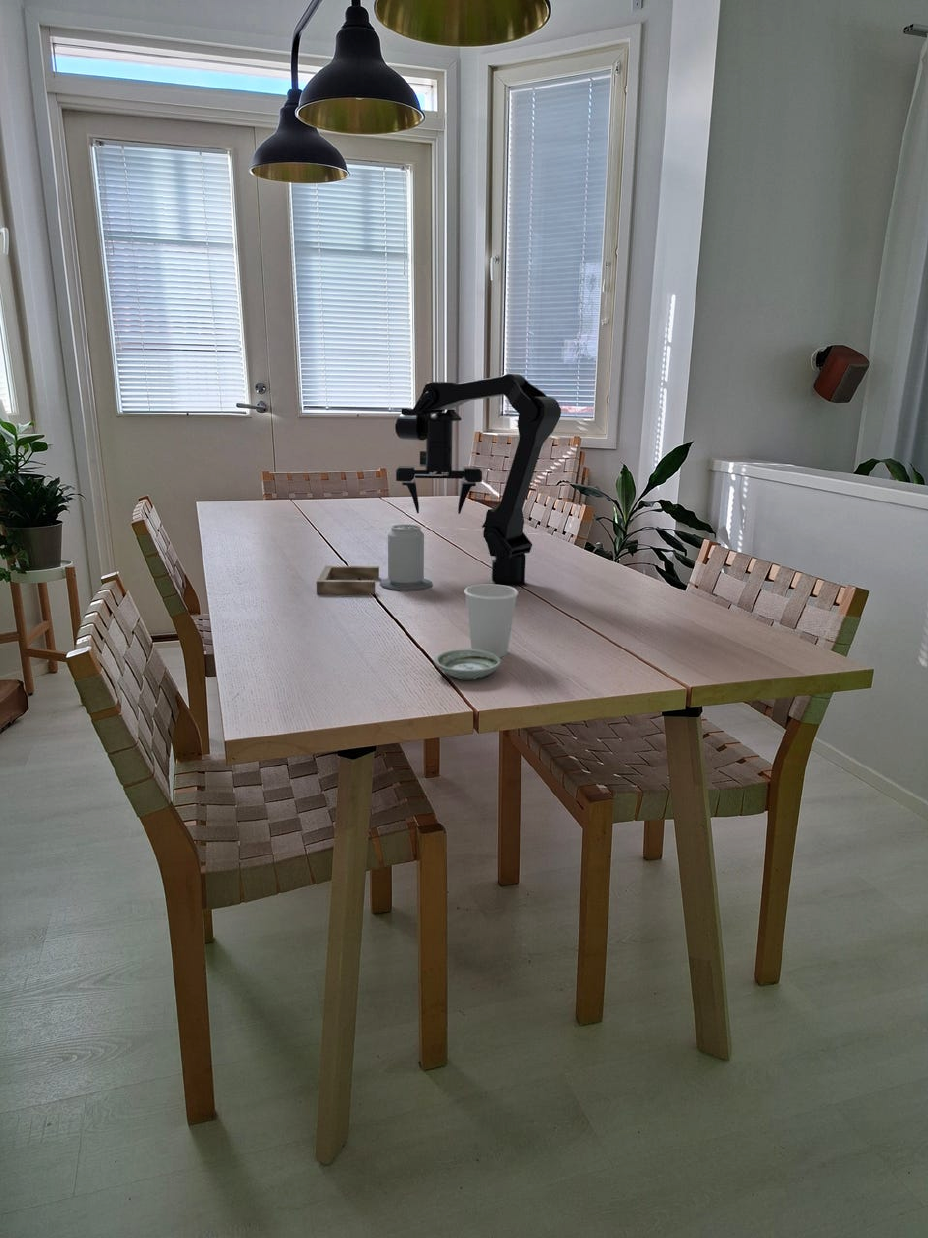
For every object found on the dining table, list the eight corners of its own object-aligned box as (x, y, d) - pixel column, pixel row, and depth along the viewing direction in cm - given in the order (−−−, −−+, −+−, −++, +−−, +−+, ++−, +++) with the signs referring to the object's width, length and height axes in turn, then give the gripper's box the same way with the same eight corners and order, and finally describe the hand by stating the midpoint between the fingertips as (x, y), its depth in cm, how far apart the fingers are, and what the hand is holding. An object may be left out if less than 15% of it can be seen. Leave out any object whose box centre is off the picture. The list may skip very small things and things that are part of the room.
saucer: (421, 677, 116) (421, 661, 115) (456, 659, 124) (457, 644, 123) (479, 691, 111) (479, 674, 110) (512, 671, 119) (512, 656, 118)
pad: (431, 578, 175) (431, 576, 175) (432, 591, 164) (432, 589, 164) (381, 578, 174) (381, 576, 174) (378, 590, 164) (378, 588, 164)
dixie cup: (484, 640, 133) (486, 581, 130) (526, 651, 128) (529, 590, 125) (452, 652, 126) (453, 590, 124) (494, 664, 121) (496, 599, 119)
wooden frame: (378, 577, 175) (378, 566, 175) (375, 594, 161) (374, 582, 160) (325, 576, 175) (325, 565, 174) (317, 593, 160) (316, 581, 160)
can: (422, 587, 166) (422, 529, 162) (386, 586, 166) (385, 528, 163) (424, 579, 173) (425, 523, 170) (390, 578, 173) (389, 522, 170)
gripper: (479, 440, 184) (477, 508, 188) (397, 438, 183) (397, 507, 187) (483, 443, 173) (481, 515, 177) (395, 442, 172) (396, 514, 176)
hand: (438, 513), depth 180 cm, fingers open, 9 cm apart
